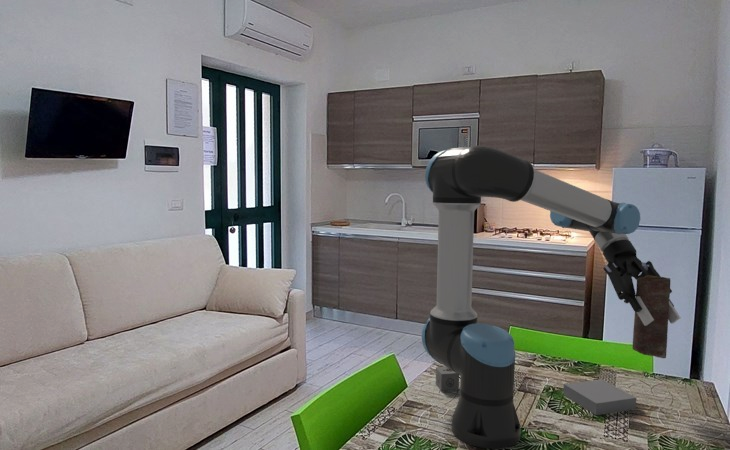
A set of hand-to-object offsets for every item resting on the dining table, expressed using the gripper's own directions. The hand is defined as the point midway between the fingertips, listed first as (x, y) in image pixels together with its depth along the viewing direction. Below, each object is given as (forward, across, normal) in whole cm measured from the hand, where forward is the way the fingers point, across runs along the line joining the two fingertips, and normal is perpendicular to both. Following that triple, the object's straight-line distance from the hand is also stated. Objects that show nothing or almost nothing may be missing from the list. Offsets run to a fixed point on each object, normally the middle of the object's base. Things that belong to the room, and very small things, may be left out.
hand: (662, 321), depth 117 cm
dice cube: (-2, +43, -36) cm, 56 cm away
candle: (+4, 0, -9) cm, 10 cm away
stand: (+10, +9, -23) cm, 27 cm away
